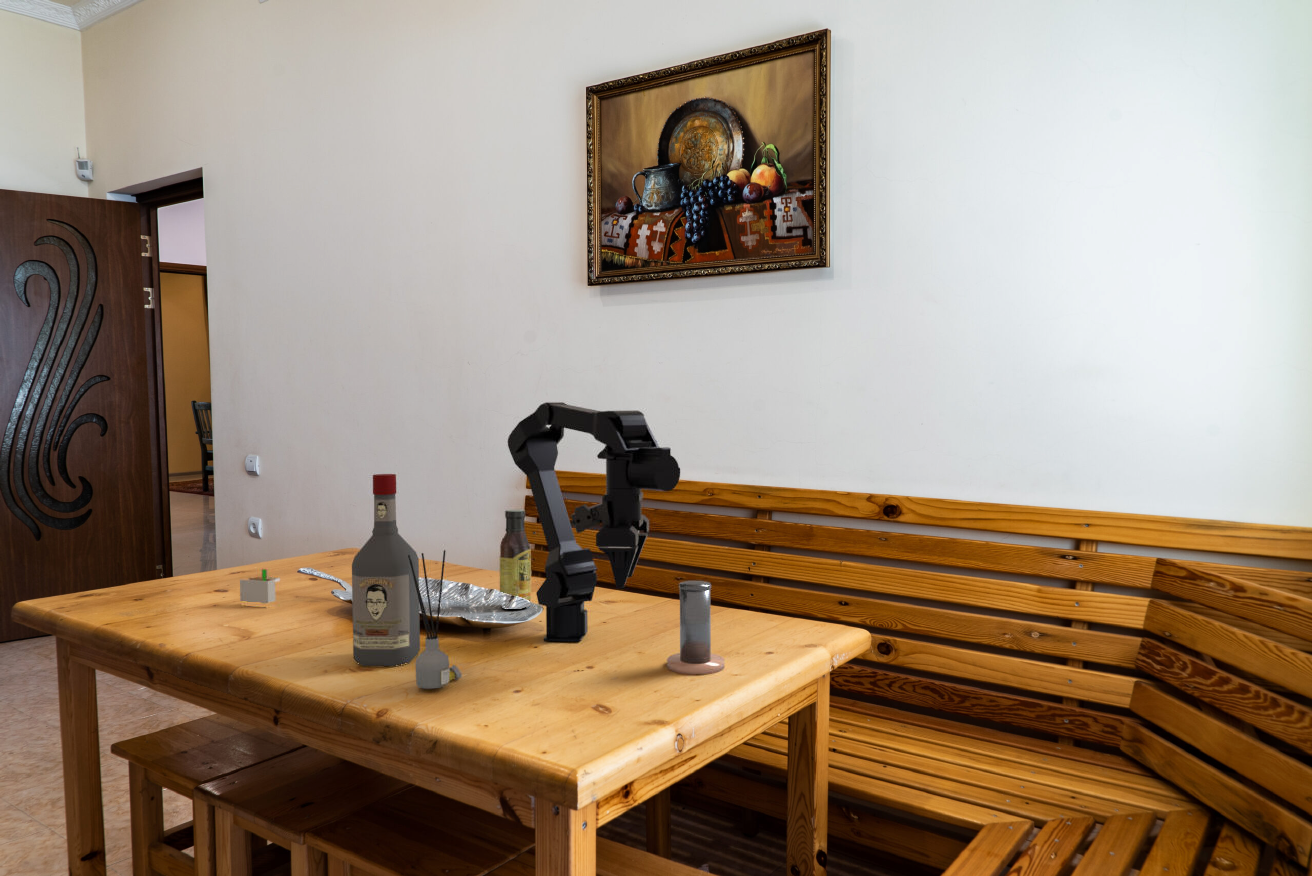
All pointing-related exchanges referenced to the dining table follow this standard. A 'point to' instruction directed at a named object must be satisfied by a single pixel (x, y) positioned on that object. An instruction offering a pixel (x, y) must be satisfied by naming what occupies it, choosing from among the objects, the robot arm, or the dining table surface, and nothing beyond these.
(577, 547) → the robot arm
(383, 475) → the liquor
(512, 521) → the sauce bottle
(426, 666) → the reed diffuser
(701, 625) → the canister
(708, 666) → the soap bar
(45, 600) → the dining table surface
